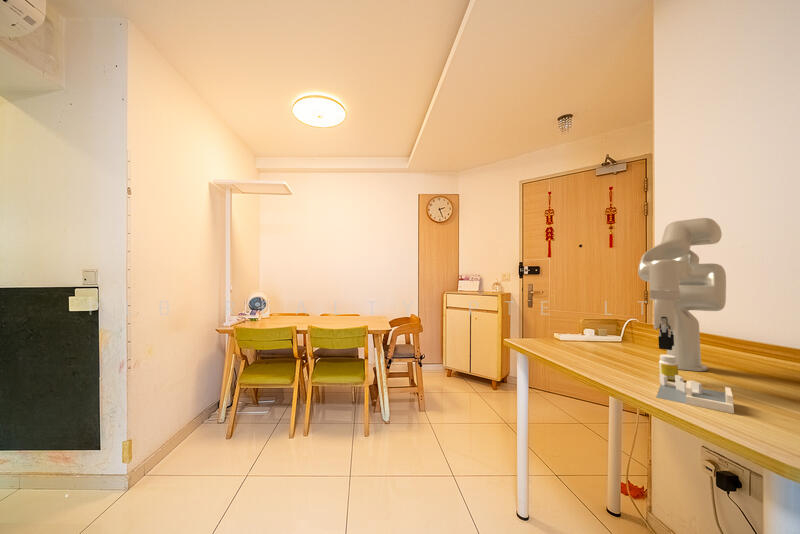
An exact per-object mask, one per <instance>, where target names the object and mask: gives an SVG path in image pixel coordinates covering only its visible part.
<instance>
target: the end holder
mask: <svg viewBox="0 0 800 534" xmlns="http://www.w3.org/2000/svg"><path fill="white" fill-rule="evenodd" d="M685 383H686V401H687V404H686V405H689V404H690V406H694V405H695V407H699V406H700V408H703V407H704V408H705V409H708V408H709V409H708V410H713V409H714V411H718V410H719V411H718V412H722V411H723V413H727V412H728V414H732V413H733V414H735V408H734V396H733V392H732V390H731V388H732V387H728V386H724V392H725V397H726V403H724V402H718V401H713V400H708V399H703V398H698V397H693V396H692V381H690V380H686V382H685Z"/></svg>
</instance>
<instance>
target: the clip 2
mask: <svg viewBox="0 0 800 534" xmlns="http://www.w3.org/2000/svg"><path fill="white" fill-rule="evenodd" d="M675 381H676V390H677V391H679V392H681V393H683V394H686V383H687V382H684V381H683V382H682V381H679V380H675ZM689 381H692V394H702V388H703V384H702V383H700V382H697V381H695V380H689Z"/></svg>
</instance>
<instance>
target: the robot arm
mask: <svg viewBox="0 0 800 534" xmlns="http://www.w3.org/2000/svg"><path fill="white" fill-rule="evenodd" d="M721 239H722V228H721V227H720V225H719V224H718V223H717V222H716V220H714V219H712V218H709V217H701V218H692V219H681V220H677V221H673V222H670V223H669V224H667V225H666V227H665V229H664V232H663V236H662V238H661V242H660V243H659V244H657V245H655V246H653V247H652V248H649V250H647V251H646V252H645V253H643V255H642V256H641V258H640V261H639V264H638V269H637V275H638V277H639V279H640V280H642V281H644V282H649V300H650V301H653V329H654V330H658V349H660V350H665V351H666V355H672V356H675V357H676V361H675V362H676V363H677V364H678V370H680V371H681V370H683V371H689V372H690V371H691V372H706V371H708V366H707V365H705V364H702V355H701V353H702V352H701V337H700V336H701V335H700V333H701V332H700V323H699V320H698V319H697V317H696V316H695V315H693V314H692V313H691V312H690V311H703V312H717V311H718V312H719V311H722V310H723V309H725V307H726V303H727V301H726V300H727V299H726V298H727V275H726V271H725V268H724V267H723V266H722V265H721V264H719V263H700V257H699V255H698V254H697V253H696V252H694V251H693V250H691V247H693V246H705V245H706V246H709V245H714V244H717V243H719V242H720V241H721Z"/></svg>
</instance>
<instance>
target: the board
mask: <svg viewBox="0 0 800 534" xmlns="http://www.w3.org/2000/svg"><path fill="white" fill-rule="evenodd" d="M692 396H693V397H698V398H703V399H708V400H713V401H718V402H724V403H726V397H725V391H718V390H713V389H708V388H703V387H702V394H692ZM655 398H657V399H661V400H667V401H671V402H676V403H681V404H685V405H690V404H687V401H686V394H683V393H681V392H679V391H677V390H676V387H668V386H663V385H662V384H661V383H660V386H659V387H658V390H657V394H656V396H655ZM690 406H691V405H690ZM693 406H695V405H693ZM695 407H696V406H695ZM698 407H700V406H698ZM700 408H701V407H700ZM702 408H704V407H702ZM707 409H708V410H710V409H709V408H707ZM712 410H714V409H712ZM714 411H715V410H714ZM717 411H718V412H720V411H719V410H717ZM721 412H723V411H721ZM723 413H724V412H723ZM726 413H728V412H726ZM728 414H729V413H728ZM732 414H733V413H731V415H732Z"/></svg>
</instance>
